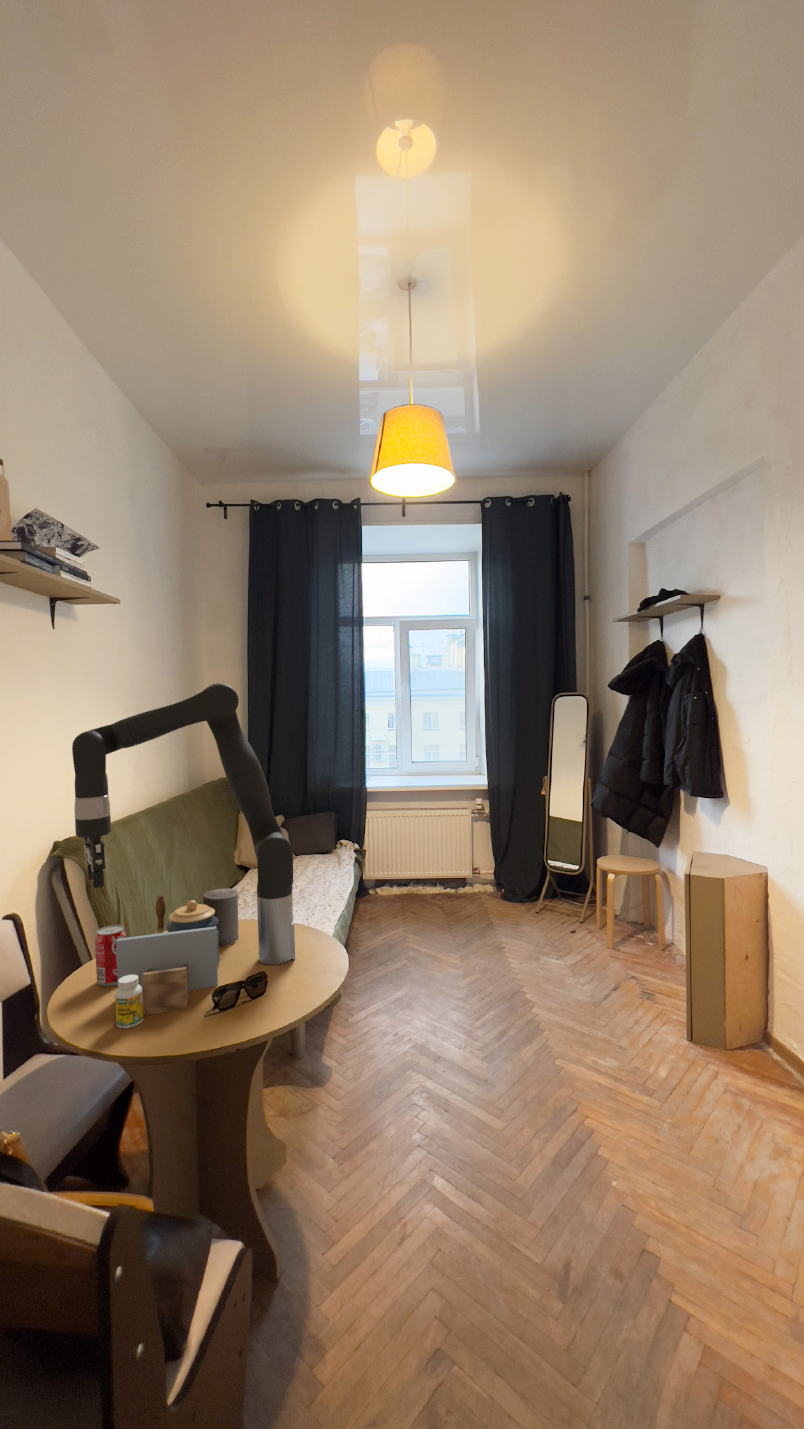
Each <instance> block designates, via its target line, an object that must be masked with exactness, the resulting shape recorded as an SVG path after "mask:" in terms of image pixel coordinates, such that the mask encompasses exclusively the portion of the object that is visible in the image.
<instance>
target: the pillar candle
mask: <svg viewBox="0 0 804 1429" xmlns="http://www.w3.org/2000/svg"><path fill="white" fill-rule="evenodd" d="M238 894H239V891H237V890H236V889H232V888H216V889H212V890H209V891H206V892H205V893H203V896H202V897H203V899H202V901H203V904H204V905H207V906H209V907H210V908H213V909H214V910H215V913H214V916H216V917H217V918H218V919H219V921H218V923H217V924H216V925H217V930H218V931H219V935H218V941H219V948H220V947H226V945H227V946H230V945H232V944H231V943H233V942H235V941H236V940H237V941H239V895H238ZM237 941H236V942H237ZM236 942H235V943H236ZM229 944H230V945H229ZM233 944H234V943H233Z"/></svg>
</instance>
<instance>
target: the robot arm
mask: <svg viewBox="0 0 804 1429" xmlns="http://www.w3.org/2000/svg"><path fill="white" fill-rule="evenodd" d="M239 700H240V699H239V695H238V693H237V691H236V689H234V688H233V687H232V686H230V685H228V684H225V683H213V684H211V685H209V686H207V687H206V688H204V689H203V690H202V691H200V692H199V693H196V694H194V695H193V696H190V697H189V698H186V699H184V700H181V701H178V702H175V703H173V704H169V705H166V706H162V707H158V708H155V709H154V708H153V709H151V710H148V711H144V712H140V713H137V714H134V715H132V716H128V717H125V718H123V719H120V720H118V721H116V722H113V723H111V724H108V725H107V724H106V725H102V726H100V727H97V728H93V729H90V730H87V731H82V732H81V733H80V734H78V735H77V736H76V737H75V738H74V739H73V741H72V746H71V747H72V748H71V750H72V751H71V752H72V761H73V767H74V768H73V769H74V797H75V799H74V823H75V824H74V825H75V826H74V828H75V836H76V837H77V838H79V839H84V843H83V849H84V859H85V863H86V866H87V878H88V880H89V881H92V887H93V888H94V889H98V888H103V886H105V878H104V875H105V874H104V870H106V855H105V842H104V841H103V840H102V837H103V836H107V835H109V834H110V833H111V832H112V821H111V818H112V817H111V803H110V797H109V781H108V774H107V771H106V770H107V755H109V754H111V753H115V752H117V751H119V750H123V749H128V748H132V747H135V746H139V745H141V744H144V743H146V742H149V741H152V740H155V739H157V738H159V737H162V736H164V735H167V734H169V733H172V732H175V731H176V730H177V731H178V730H179V729H182V728H185V727H187V726H191V725H194V724H198V723H202V722H203V723H204V722H206V723H207V725H208V727H209V729H210V731H211V734H212V736H213V737H214V740H215V744H216V746H217V750H218V755H219V757H220V761H221V765H222V768H223V771H224V774H225V777H226V780H227V783H228V785H229V787H230V788H229V789H230V790H231V793H232V795H233V797H234V800H235V802H236V803H237V806H238V808H239V809H240V812H241V813H242V814H243V816H244V818H245V820H246V823H247V826H248V830H249V833H250V836H251V840H252V845H253V849H254V855H255V857H256V864H257V884H256V900H257V901H256V902H257V903H256V905H257V907H256V908H257V936H258V937H257V938H258V961H259V962H260V961H261V962H260V963H262V964H264V963H265V965H270V964H274V965H279V963H281V964H285V963H287V961H288V962H290V961H292V960H291V959H293V960H295V959H296V942H295V941H296V940H295V939H296V936H295V922H294V908H293V906H294V903H293V901H294V899H293V884H294V851H293V850H294V849H293V847H292V844H291V842H290V841H289V840H288V838H287V837H286V835H285V834H284V833H283V831H282V829H281V826H280V825H279V822H278V820H277V819H276V816H275V813H274V810H273V807H272V806H273V805H272V802H271V797H270V791H269V787H268V783H267V780H266V777H265V774H264V771H263V768H262V766H261V762H260V761H259V759H258V757H257V755H256V752H255V751H254V749H253V747H252V746H251V744H250V742H249V740H248V739H247V738H246V736H245V734H244V733H243V730H242V727H241V724H240V722H239V721H240V720H239V717H238V714H237V709H238V707H239V703H240V702H239ZM99 863H100V864H99ZM289 960H290V961H289Z"/></svg>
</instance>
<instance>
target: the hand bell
mask: <svg viewBox="0 0 804 1429" xmlns="http://www.w3.org/2000/svg"><path fill="white" fill-rule="evenodd" d="M155 903H156V904H155V914H156V918H157V931H156V932H155V933H154V934H160V933H168V931H167V930H165V921H164V920H165V914H166V912H167V911H166V909H167V908H166V906H167V905H166V901H165V898H164V895H162V894H161V895H158V896H157V900H156V902H155Z"/></svg>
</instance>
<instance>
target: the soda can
mask: <svg viewBox="0 0 804 1429" xmlns="http://www.w3.org/2000/svg"><path fill="white" fill-rule="evenodd" d="M127 935H128V934H127V931H126V930H125V926H124V925H122V924H114V925H108V926H104V927H101V928H99V929H98V930H96V935H95V938H94V947H95V948H94V949H95V968H96V982H97V983H98V984H99V986H101V987H113V986H118V979H117V950H116V940H117V939H120V938H128V936H127Z"/></svg>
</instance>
